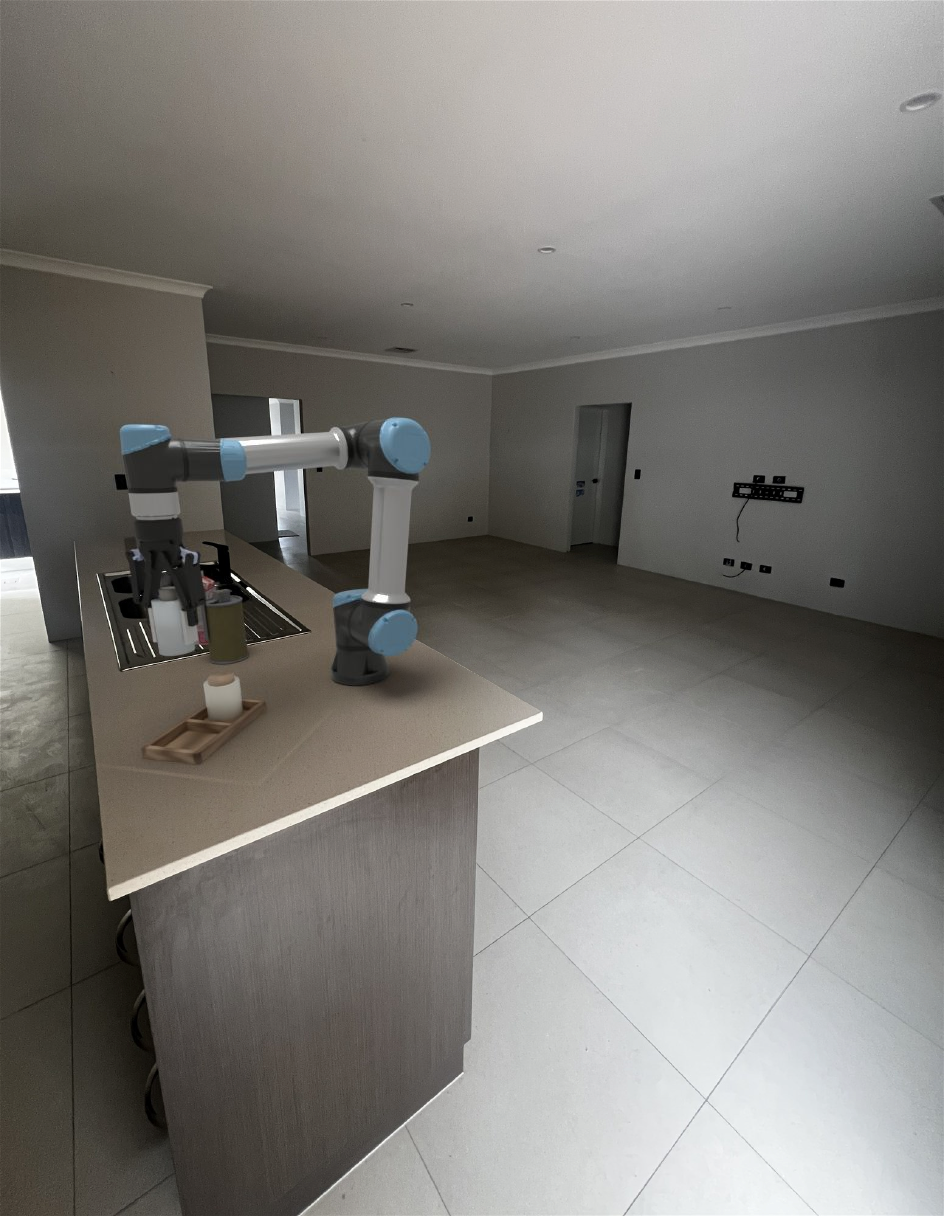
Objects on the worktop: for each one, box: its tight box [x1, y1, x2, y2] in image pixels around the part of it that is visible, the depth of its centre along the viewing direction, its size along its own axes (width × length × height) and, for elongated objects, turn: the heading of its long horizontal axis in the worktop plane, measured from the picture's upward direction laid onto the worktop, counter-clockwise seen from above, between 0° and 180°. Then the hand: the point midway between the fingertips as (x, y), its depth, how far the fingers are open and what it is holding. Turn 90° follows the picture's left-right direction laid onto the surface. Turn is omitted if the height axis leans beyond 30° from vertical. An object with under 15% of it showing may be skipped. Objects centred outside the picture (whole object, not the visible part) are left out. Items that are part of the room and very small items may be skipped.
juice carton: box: [189, 570, 216, 646], centre depth 167 cm, size 7×7×22 cm
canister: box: [201, 588, 250, 665], centre depth 153 cm, size 11×10×20 cm
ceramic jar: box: [203, 671, 244, 723], centre depth 116 cm, size 7×7×10 cm
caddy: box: [140, 698, 268, 766], centre depth 112 cm, size 12×23×3 cm, turn 169°
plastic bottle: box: [151, 586, 196, 657], centre depth 100 cm, size 6×6×12 cm
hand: (175, 640), depth 101 cm, fingers closed on plastic bottle, 6 cm apart
